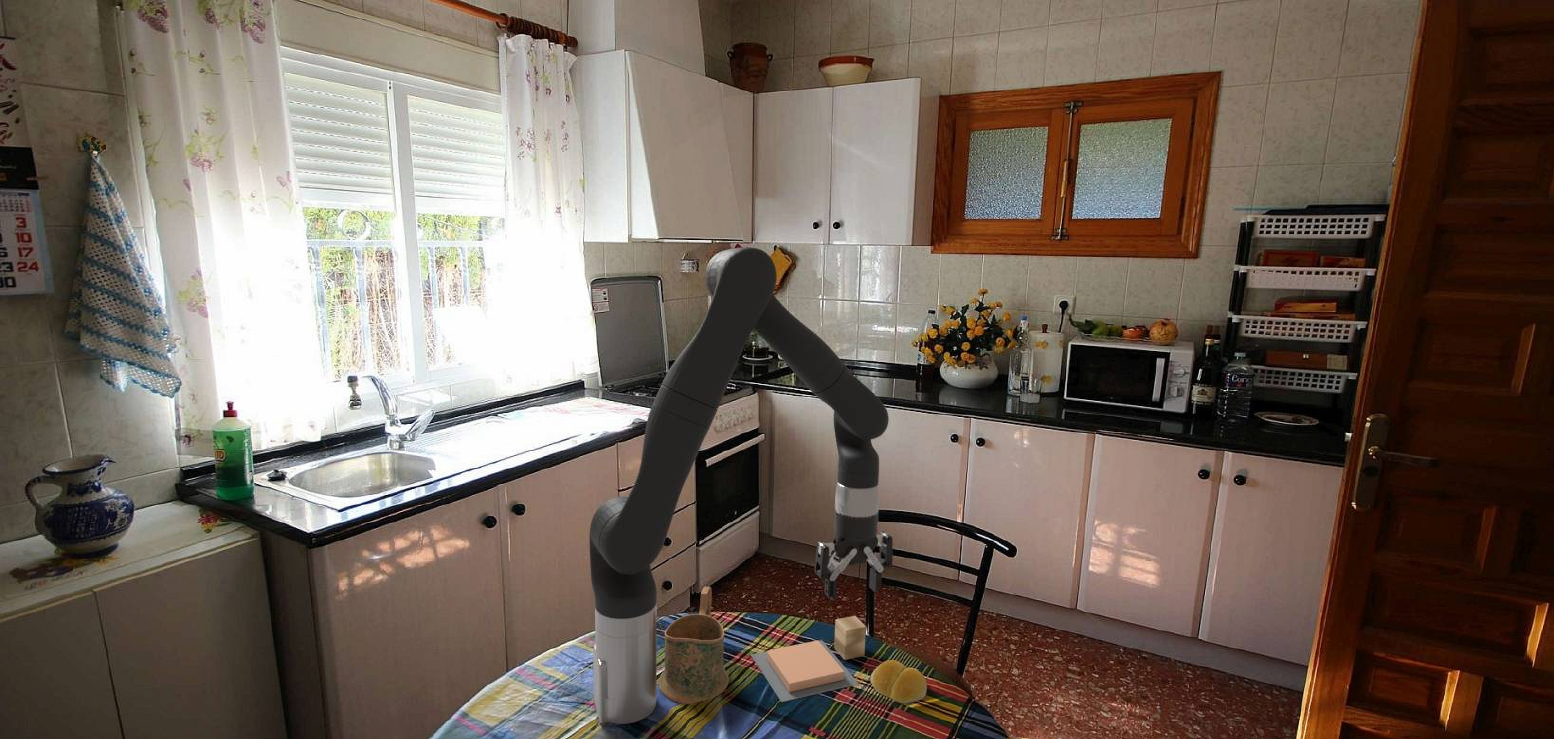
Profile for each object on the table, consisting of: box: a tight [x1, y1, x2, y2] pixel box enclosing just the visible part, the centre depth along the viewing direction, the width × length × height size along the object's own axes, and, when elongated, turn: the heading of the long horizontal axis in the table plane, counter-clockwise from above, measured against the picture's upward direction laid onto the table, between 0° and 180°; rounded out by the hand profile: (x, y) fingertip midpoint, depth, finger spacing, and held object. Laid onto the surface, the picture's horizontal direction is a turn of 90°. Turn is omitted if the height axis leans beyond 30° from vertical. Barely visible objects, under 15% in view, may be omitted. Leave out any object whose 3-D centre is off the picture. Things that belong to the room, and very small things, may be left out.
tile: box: [766, 640, 844, 692], centre depth 122 cm, size 10×2×10 cm
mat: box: [750, 639, 859, 703], centre depth 122 cm, size 14×14×1 cm
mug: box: [658, 586, 730, 705], centre depth 120 cm, size 12×18×12 cm, turn 174°
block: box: [833, 615, 867, 661], centre depth 127 cm, size 4×4×6 cm
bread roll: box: [870, 659, 928, 704], centre depth 118 cm, size 8×9×4 cm
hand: (852, 593), depth 126 cm, fingers open, 8 cm apart
